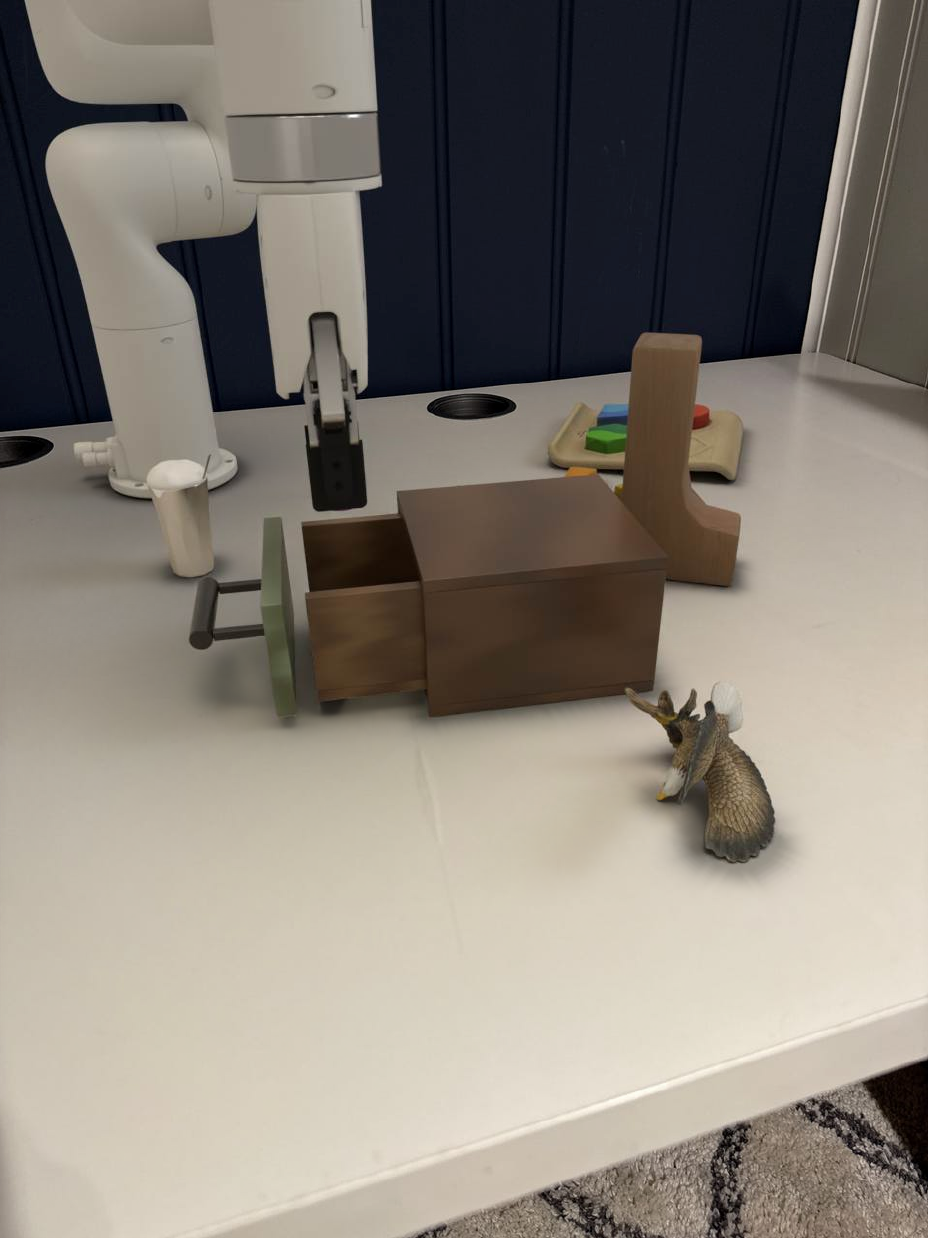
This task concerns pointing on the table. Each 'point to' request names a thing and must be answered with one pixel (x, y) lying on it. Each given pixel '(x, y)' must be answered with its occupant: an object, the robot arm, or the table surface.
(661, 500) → the wooden block
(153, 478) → the milkshake
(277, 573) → the drawer
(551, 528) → the cabinet
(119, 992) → the table surface
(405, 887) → the table surface
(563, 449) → the shape puzzle
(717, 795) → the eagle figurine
